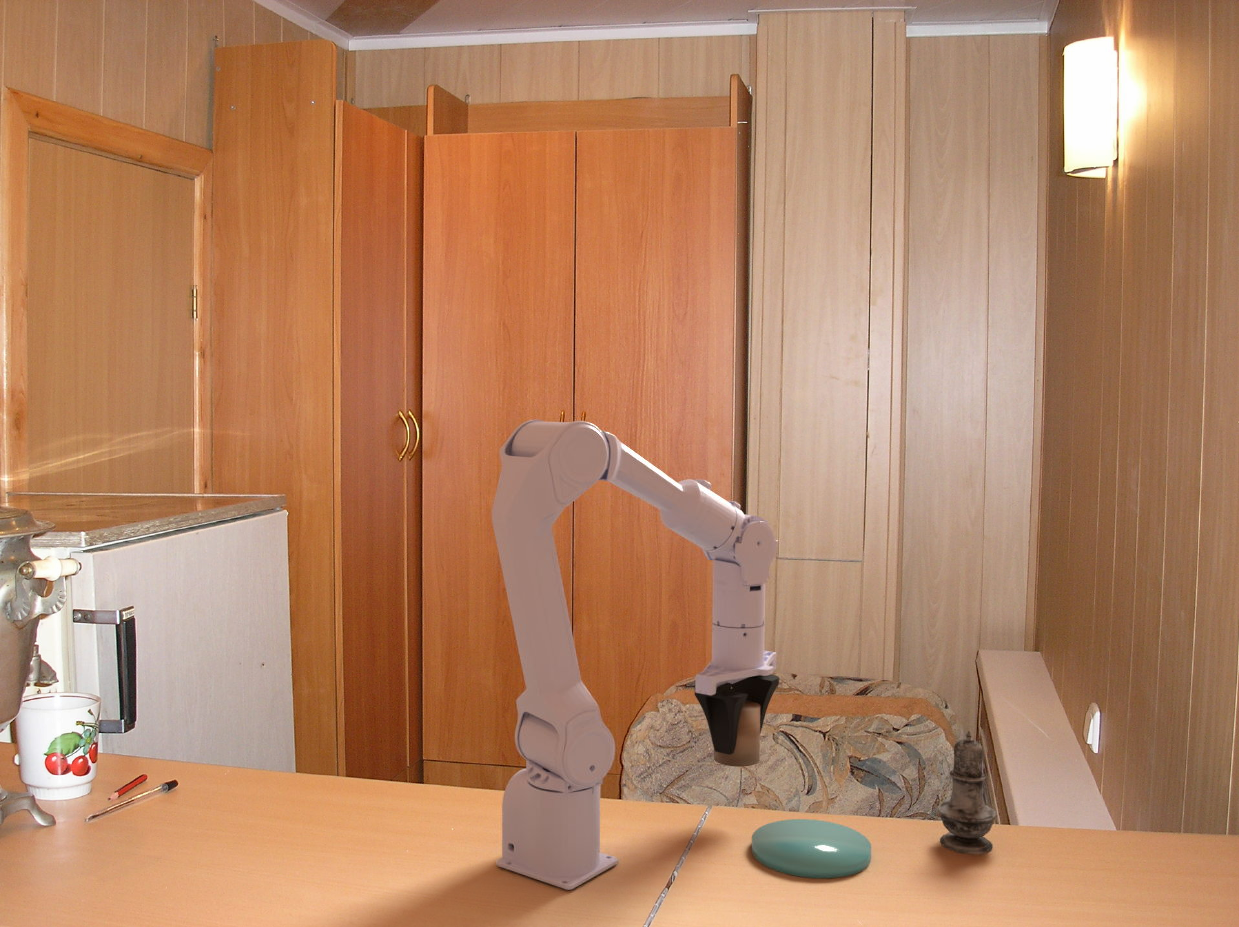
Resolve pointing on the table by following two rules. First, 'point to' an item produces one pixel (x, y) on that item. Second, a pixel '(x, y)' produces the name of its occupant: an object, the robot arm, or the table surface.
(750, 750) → the walnut cylinder
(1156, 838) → the table surface
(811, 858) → the teal rounded disc
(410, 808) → the table surface
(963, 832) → the salt shaker
